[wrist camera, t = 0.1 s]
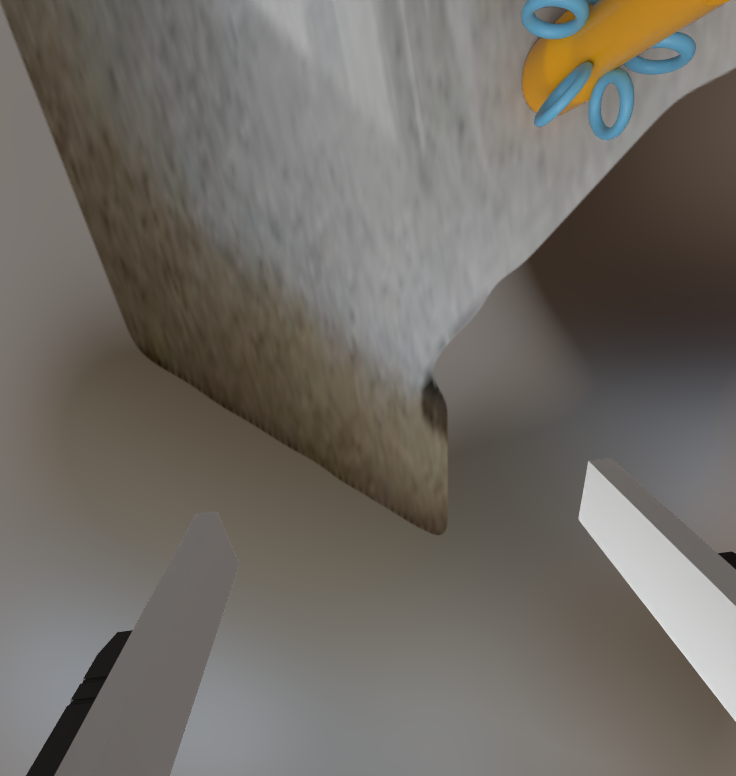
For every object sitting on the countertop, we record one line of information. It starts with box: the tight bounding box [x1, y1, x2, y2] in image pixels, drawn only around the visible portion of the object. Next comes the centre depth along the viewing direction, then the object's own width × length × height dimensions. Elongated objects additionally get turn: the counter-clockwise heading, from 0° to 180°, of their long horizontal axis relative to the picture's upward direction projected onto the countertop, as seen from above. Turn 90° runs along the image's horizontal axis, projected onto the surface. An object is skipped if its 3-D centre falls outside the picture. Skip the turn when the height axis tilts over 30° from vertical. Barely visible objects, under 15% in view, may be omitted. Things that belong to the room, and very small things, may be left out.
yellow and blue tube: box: [521, 0, 729, 140], centre depth 23 cm, size 12×10×15 cm
